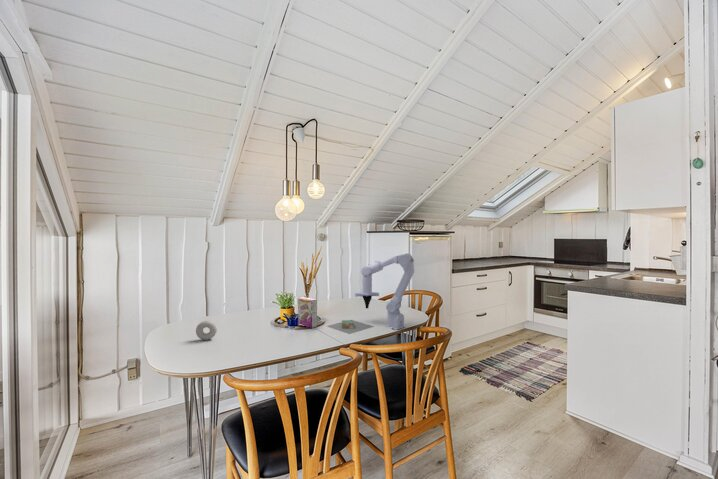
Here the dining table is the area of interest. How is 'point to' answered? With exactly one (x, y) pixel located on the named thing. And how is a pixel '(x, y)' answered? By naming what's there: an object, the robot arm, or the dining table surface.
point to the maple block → (347, 324)
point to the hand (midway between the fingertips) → (367, 308)
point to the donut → (206, 335)
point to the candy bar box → (307, 312)
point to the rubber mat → (357, 327)
